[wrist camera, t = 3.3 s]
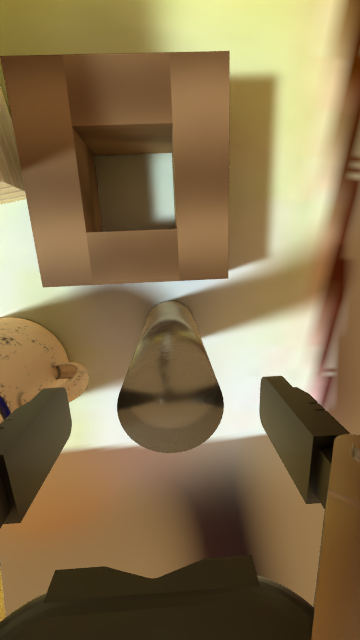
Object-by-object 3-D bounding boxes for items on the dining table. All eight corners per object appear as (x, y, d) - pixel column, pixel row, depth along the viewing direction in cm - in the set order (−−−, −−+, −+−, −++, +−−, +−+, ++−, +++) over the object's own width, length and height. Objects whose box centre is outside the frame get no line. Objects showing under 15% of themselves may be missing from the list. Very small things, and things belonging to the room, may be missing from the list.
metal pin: (145, 302, 20) (111, 362, 9) (193, 299, 20) (223, 356, 9) (148, 347, 21) (123, 456, 10) (194, 344, 21) (223, 449, 10)
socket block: (39, 103, 17) (0, 56, 13) (215, 98, 17) (229, 51, 13) (68, 281, 20) (42, 287, 16) (216, 274, 20) (228, 278, 16)
